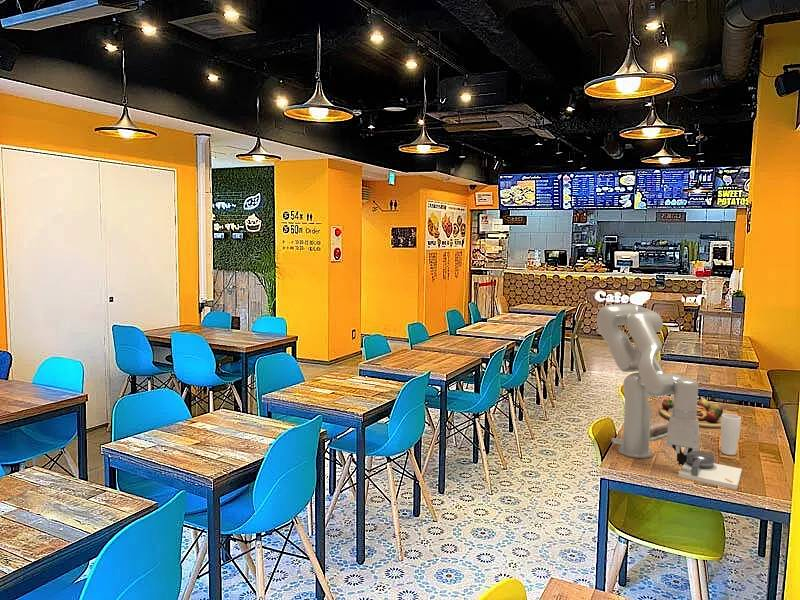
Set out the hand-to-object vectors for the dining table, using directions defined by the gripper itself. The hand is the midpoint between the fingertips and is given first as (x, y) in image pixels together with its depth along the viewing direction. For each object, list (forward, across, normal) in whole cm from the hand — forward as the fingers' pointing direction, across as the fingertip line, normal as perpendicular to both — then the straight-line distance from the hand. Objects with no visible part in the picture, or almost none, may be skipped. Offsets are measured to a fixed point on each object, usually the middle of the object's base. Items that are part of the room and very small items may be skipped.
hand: (681, 463), depth 214 cm
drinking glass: (+3, +12, +33) cm, 35 cm away
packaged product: (+4, -17, +39) cm, 43 cm away
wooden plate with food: (+4, -6, +78) cm, 79 cm away
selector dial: (+1, +5, +4) cm, 6 cm away
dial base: (+3, +9, +4) cm, 10 cm away
